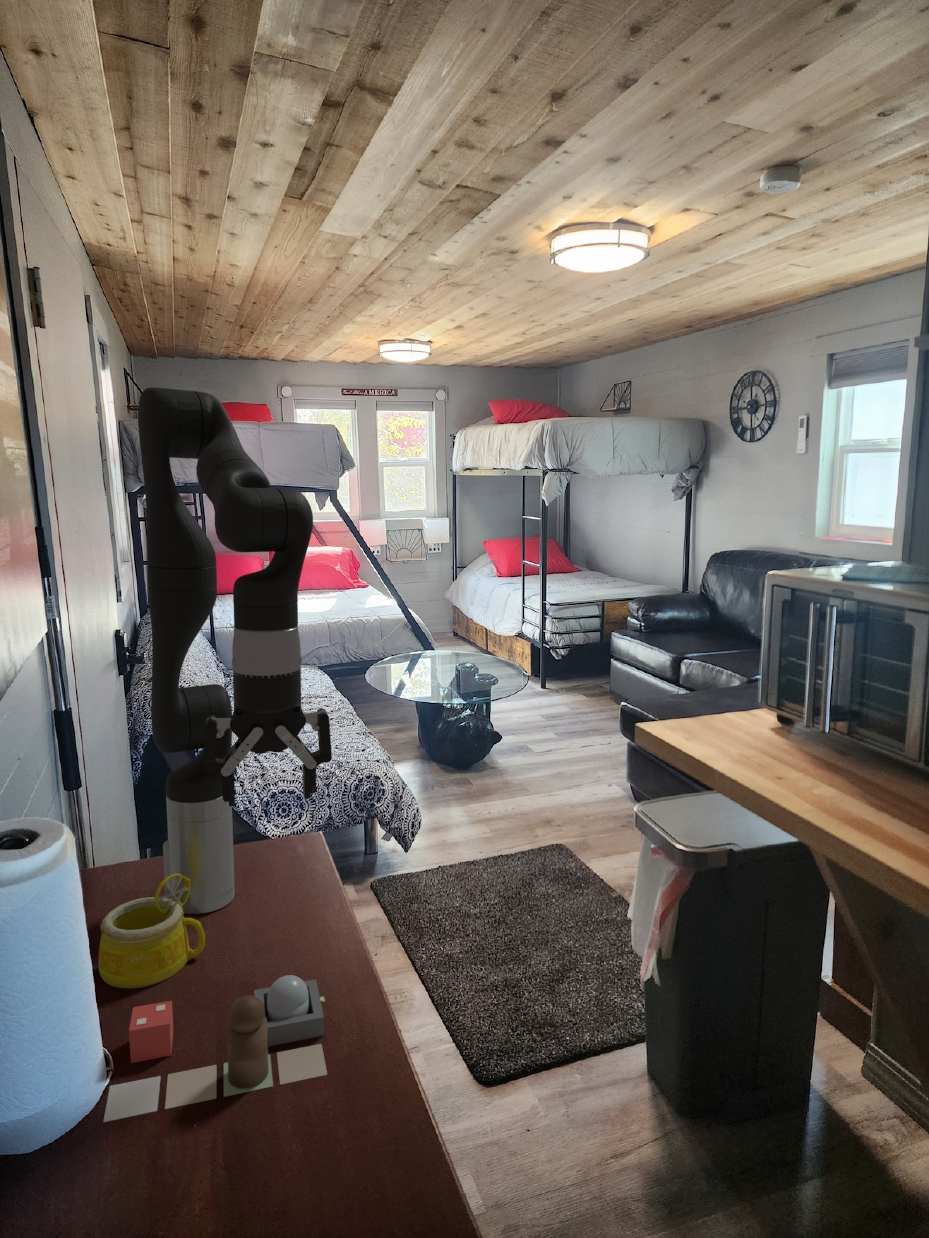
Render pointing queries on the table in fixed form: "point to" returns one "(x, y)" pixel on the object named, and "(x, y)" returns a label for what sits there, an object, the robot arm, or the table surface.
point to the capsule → (287, 998)
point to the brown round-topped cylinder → (247, 1043)
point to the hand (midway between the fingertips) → (269, 800)
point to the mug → (147, 939)
